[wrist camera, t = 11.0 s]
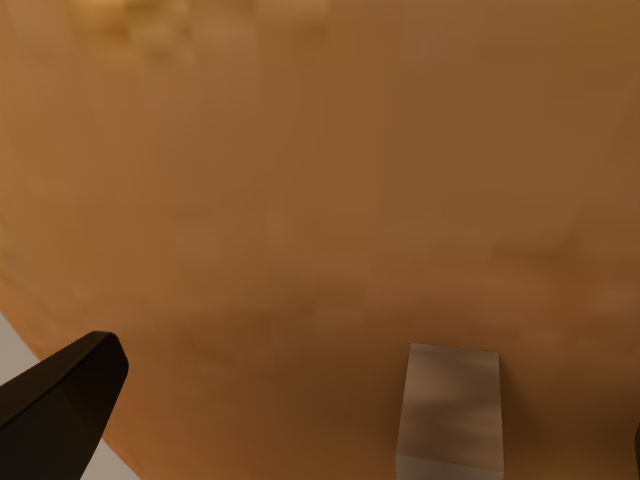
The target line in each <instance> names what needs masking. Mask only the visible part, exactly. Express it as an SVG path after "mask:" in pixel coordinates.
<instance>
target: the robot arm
mask: <svg viewBox="0 0 640 480" xmlns="http://www.w3.org/2000/svg"><path fill="white" fill-rule="evenodd" d="M128 370H129V363H128V359H127V357H126V355H125V353H124V350H123V348H122V346H121V343H120V341H119V339H118V337H117V335H116V334H114V333H112V332H106V331H92V332H90V333H88V334H86V335H85V336H83V337H81V338H80V339H78V340H76V341H75V342H73V343H71V344H70V345H68V346H66V347H65V348H63V349H61V350H60V351H58V352H56V353H55V354H53V355H51V356H50V357H48V358H46V359H45V360H43V361H41V362H40V363H38V364H36V365H35V366H33V367H31V368H30V369H28V370H26V371H25V372H23V373H21V374H20V375H18V376H16V377H15V378H13V379H11V380H10V381H8V382H6V383H4V384H3V385H1V386H0V480H80V478H81V476H82V475H83V473H84V471H85V469H86V467H87V465H88V463H89V462H90V460H91V458H92V456H93V454H94V452H95V450H96V448H97V446H98V443H99V441H100V439H101V437H102V434H103V432H104V430H105V427H106V425H107V422H108V420H109V418H110V415H111V413H112V410H113V408H114V406H115V403H116V401H117V398H118V396H119V394H120V391H121V389H122V386H123V384H124V382H125V379H126V377H127V374H128ZM635 452H636V459H637V466H638V473H639V480H640V424H639V426H638V428H637V431H636V435H635Z"/></svg>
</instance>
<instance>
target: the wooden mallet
mask: <svg viewBox="0 0 640 480" xmlns="http://www.w3.org/2000/svg"><path fill="white" fill-rule="evenodd" d="M503 476H504V456H503V434H502V413H501V392H500V371H499V352H490V351H481V350H473V349H464V348H455V347H446V346H437V345H428V344H420V343H411V346H410V353H409V360H408V368H407V375H406V382H405V389H404V397H403V404H402V411H401V418H400V426H399V433H398V440H397V448H396V480H503Z"/></svg>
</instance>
